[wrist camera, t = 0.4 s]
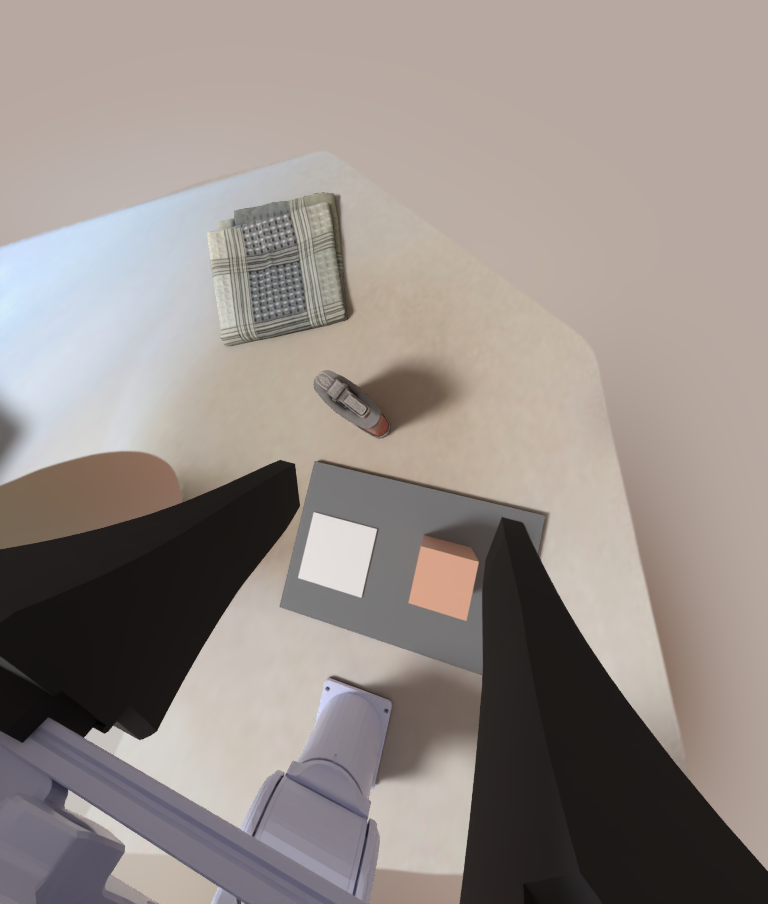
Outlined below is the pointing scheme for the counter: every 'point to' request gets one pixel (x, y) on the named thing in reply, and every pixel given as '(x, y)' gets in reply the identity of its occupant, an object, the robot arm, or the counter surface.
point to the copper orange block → (444, 577)
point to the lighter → (351, 403)
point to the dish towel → (278, 269)
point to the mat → (389, 559)
